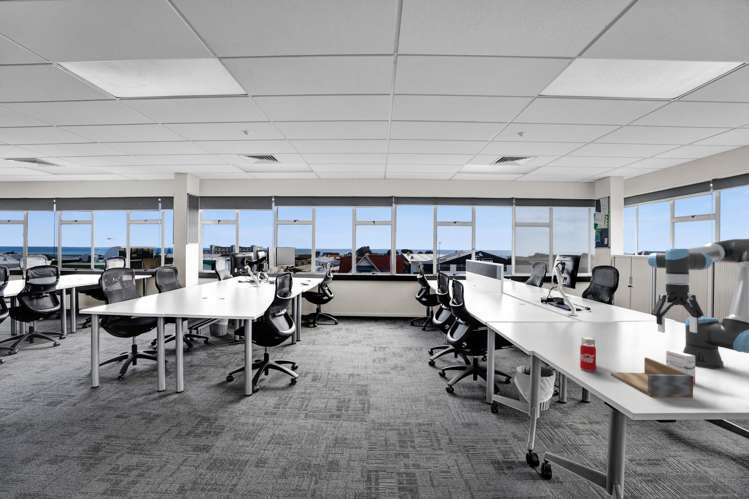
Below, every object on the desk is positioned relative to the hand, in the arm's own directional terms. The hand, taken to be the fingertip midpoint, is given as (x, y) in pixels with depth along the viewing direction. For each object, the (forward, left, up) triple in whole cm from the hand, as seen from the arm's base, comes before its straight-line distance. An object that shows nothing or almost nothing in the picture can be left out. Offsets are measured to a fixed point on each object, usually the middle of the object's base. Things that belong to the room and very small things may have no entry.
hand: (677, 332), depth 144 cm
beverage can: (+33, -9, -21) cm, 40 cm away
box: (+28, -17, -21) cm, 39 cm away
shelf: (+18, +8, -21) cm, 29 cm away
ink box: (-1, +1, -21) cm, 21 cm away
